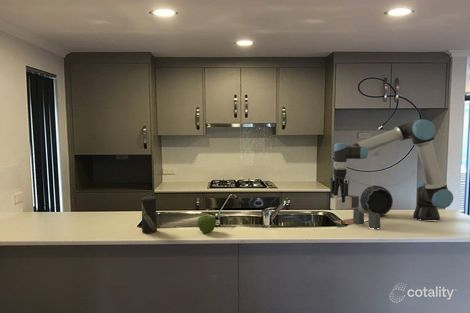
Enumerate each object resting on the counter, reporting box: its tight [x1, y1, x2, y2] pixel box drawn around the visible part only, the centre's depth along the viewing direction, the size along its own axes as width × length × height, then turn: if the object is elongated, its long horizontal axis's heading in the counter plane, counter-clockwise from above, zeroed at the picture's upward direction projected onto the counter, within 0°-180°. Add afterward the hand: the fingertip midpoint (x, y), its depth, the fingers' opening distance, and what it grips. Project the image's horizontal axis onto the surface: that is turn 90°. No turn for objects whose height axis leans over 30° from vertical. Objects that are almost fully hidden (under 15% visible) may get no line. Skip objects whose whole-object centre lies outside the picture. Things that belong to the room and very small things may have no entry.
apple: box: [197, 214, 217, 234], centre depth 204 cm, size 11×10×10 cm
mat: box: [333, 217, 353, 225], centre depth 227 cm, size 20×9×1 cm, turn 117°
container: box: [140, 195, 158, 234], centre depth 206 cm, size 9×9×20 cm
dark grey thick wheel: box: [359, 184, 394, 217], centre depth 242 cm, size 11×20×20 cm, turn 96°
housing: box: [352, 208, 381, 229], centre depth 216 cm, size 4×17×9 cm, turn 27°
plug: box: [329, 194, 360, 211], centre depth 224 cm, size 18×6×7 cm, turn 117°
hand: (339, 206), depth 222 cm, fingers closed on plug, 4 cm apart
